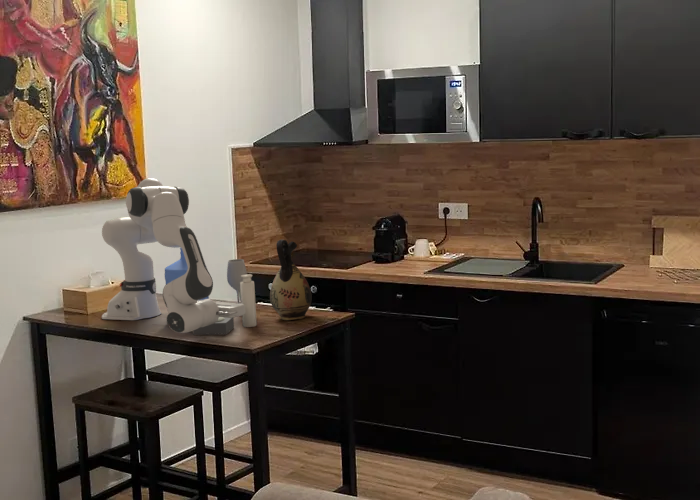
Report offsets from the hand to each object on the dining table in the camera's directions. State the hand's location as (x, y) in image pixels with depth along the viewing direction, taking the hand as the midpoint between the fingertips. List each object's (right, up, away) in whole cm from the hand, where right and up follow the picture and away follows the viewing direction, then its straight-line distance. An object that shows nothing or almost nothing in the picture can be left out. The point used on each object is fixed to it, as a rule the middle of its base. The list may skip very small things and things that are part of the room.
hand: (231, 304), depth 313 cm
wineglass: (-1, -6, +29) cm, 30 cm away
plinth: (-7, -10, +3) cm, 12 cm away
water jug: (-18, -8, +20) cm, 28 cm away
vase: (+5, -8, +10) cm, 14 cm away
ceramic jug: (+20, -7, +18) cm, 28 cm away
